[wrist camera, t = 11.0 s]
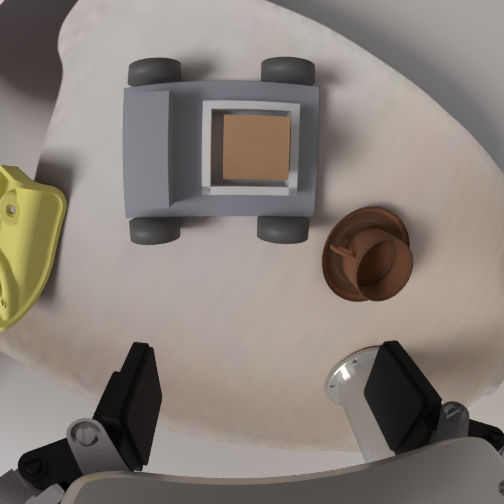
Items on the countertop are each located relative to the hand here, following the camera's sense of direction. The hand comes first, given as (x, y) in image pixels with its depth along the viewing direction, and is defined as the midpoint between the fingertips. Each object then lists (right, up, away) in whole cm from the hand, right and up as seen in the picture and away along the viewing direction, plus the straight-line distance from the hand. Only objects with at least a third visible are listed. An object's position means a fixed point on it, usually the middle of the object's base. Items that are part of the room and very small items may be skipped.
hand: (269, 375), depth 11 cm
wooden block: (-1, +15, +17) cm, 22 cm away
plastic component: (-32, +7, +19) cm, 38 cm away
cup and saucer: (+13, +5, +24) cm, 27 cm away
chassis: (-4, +16, +18) cm, 24 cm away
